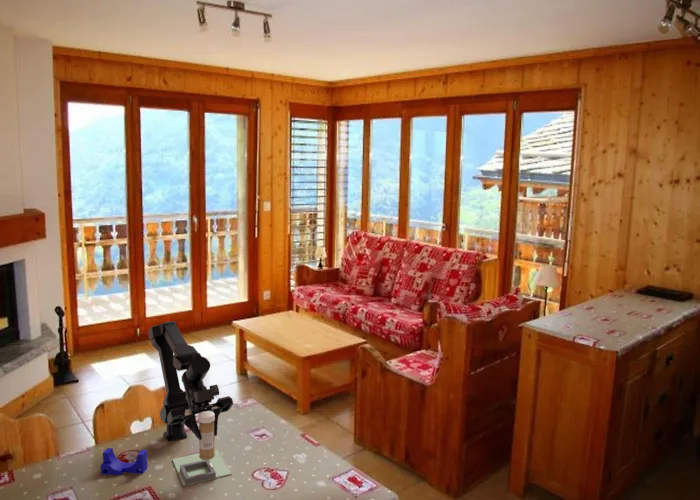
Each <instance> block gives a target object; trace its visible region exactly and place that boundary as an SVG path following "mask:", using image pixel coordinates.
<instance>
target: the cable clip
mask: <svg viewBox="0 0 700 500" xmlns="http://www.w3.org/2000/svg"><path fill="white" fill-rule="evenodd" d="M147 451H148V450H147V449H141V450H140V451H139V452H138V453H137V455H136V460H135V461H133V462H124V461H121V460H120V459H119V458H118V457H117V456H116V455H115V453H114V448H112V447H108V448H106V449H105V450H104V451H102V461H103V462H102V463H101V464H100V475H110V474H111V476H122V474H123V473H124V472H127V473H129V474H141V475H142V474H144V473H145V472H146V471H147V470H148V452H147Z"/></svg>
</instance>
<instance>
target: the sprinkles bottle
mask: <svg viewBox="0 0 700 500" xmlns="http://www.w3.org/2000/svg"><path fill="white" fill-rule="evenodd" d="M214 420H215V414H214V412H211V411H204V412H201V413H199V414H198V424H199V425H198V428H199V431H200V434H201V438H202V439H201V440H199V439H198V447H199V453H200V455H199V458H200V459H202V460H209V459H212V458H213V457H214V456H215V453H214V450H215V439H216V436H215V435H214Z"/></svg>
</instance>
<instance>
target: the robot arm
mask: <svg viewBox="0 0 700 500" xmlns="http://www.w3.org/2000/svg"><path fill="white" fill-rule="evenodd" d="M147 333H148V334H147V335H148V339H149V340H150V342H151V346H152V347H153V348H154V349H155V350H156V352H158V355H159V356H158V357H159V362H160V367H161V371H162V377H163V383H164V387H165V391H166V393H165V395H164V399H163V401H162V407H161V408H160V411H159V416H160V420H161V421H162V423H163V424H165V427H166V431H164V432H163V434H164V437H165V439H166V441H167V442H171V441H176V440H180V439H186V438H188V435H187V433H186V431H185V426H186V427H187V428H188V429H189V430H190V431H191V432H192V434H194V436H195V437H196V438H197V439H198V441H199V440H201V439H202V438H201V434H200V431H199V425H198V423H197V417H196V415H199V414H200V413H201V412H204V411H211V412H214V414H215V420H214V436H215V437H217V435H218V422H219V417H220V414H222V413H225V412H229V411H230V409H231V408H232V406H233V405H234V400H233V398H232V397H231V396H230V395H229V396H224V397H220V398H218V399H217V401H216V402H213V403H212V401H213V400H215V396H219V395H220V388H219V386H218V384H212V385H210V386H209V389H207V386H206V385H204V381H203V380H204V379H205V377H206V376H207V373H208V372H209V371H210V368H211V362H210V361H209V360H208V359H207V358H206V357H204V356H202V355H201V353H200V352H198V351H197V350H196V348H195V347H194V346H193V345H190V344H188V343H187V341H186V340H185V338H184V337H183V334H182V333H181V332H180V330H179V328H178V323H177V321H174V320H173V321H172V320H171V321H166V322H162V323H159V324H157V325H152V326H151V328H149V329H148V331H147ZM180 371H184V372H183V374H182V375H181V383H182V385H183V389H184V390H183V389H182V388H181V386H180V380H179V376H178V372H180Z"/></svg>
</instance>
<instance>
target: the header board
mask: <svg viewBox="0 0 700 500" xmlns="http://www.w3.org/2000/svg"><path fill="white" fill-rule="evenodd" d="M214 453H215V456H214V457H213V458H212V459H209V460H202V459H200V458H199V455H200V452H199V453H194V454H193V453H192V454H189V455H184V456H180V457H176V458H172V462H173V466H174V468H175V470H176V473H177V475H178V477H179V479H180V481H181V484H182V486H183V487H186V486H191V485H193V484H197V483H202V482H206V481H210V480H215V479H219V478H220V479H221V478H223V477H228V476H231V475H232V472H231V470H230V468H229V467H228V465H227V463H226V461H225V460H224V458H223V456H222V455H221V453H220V452H219V450H218V449H214Z"/></svg>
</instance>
